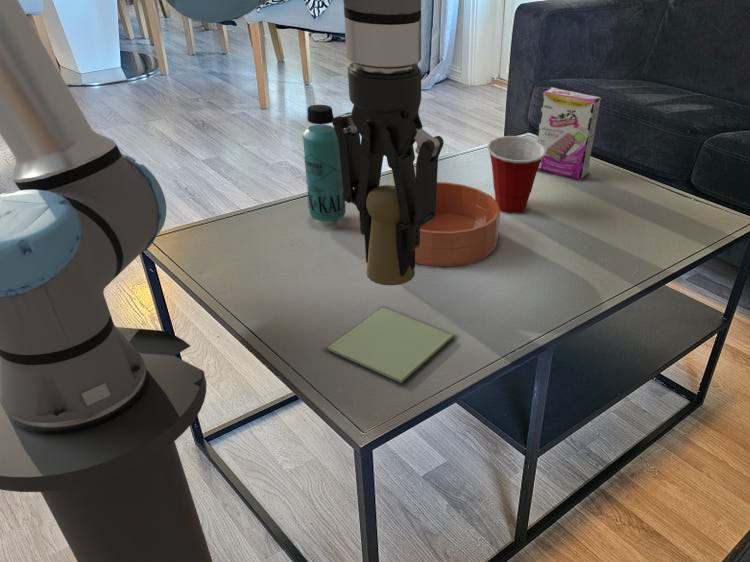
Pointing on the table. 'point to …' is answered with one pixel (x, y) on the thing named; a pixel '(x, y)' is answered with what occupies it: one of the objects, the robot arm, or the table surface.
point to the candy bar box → (567, 131)
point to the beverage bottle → (323, 166)
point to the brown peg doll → (384, 238)
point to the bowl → (459, 227)
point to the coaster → (390, 344)
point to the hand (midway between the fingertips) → (390, 264)
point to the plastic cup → (514, 170)
